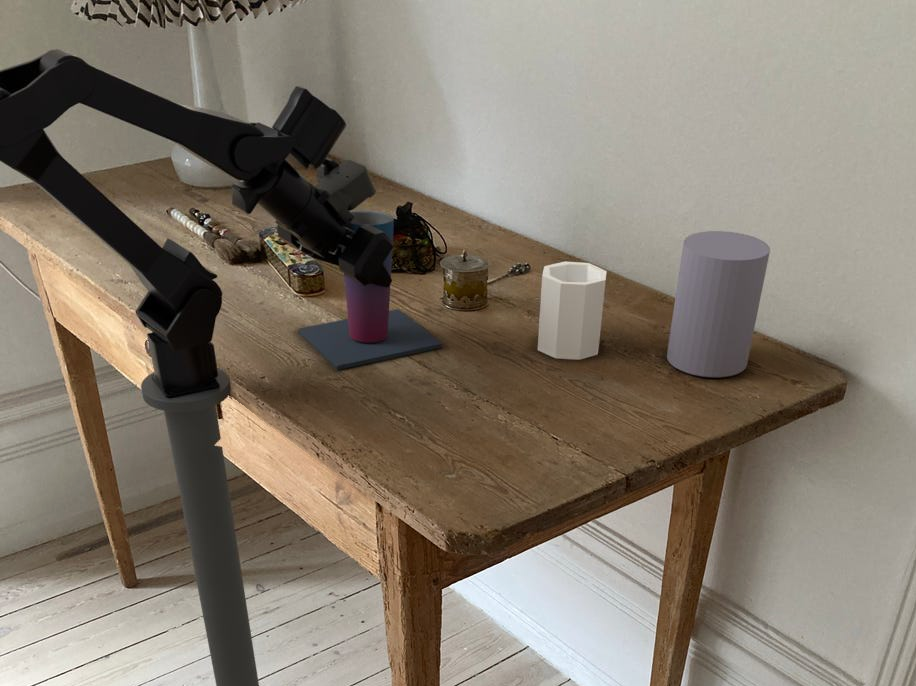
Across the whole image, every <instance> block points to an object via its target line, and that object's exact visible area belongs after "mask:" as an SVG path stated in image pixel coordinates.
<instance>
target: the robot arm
mask: <svg viewBox="0 0 916 686" xmlns="http://www.w3.org/2000/svg"><path fill="white" fill-rule="evenodd" d="M79 104H81V105H83V106H86V107H89V108H90V109H93V110H96V111H99V112H100V113H102V114H105V115H108V116H110V117H112V118H115V119H118V120H119V121H123V122H125V123H127V124H129V125H132V126H135V127H137V128H139V129H142V130H144V131H147V132H149V133H152V134H154V135H156V136H159V137H162V138H164V139H166V140H169V141H171V142H173V143H175V144H176V145H177V146H179V147H181V148H182V149H183V150H185V151H186V152H187V153H190V154H191V155H192V156H194V157H195V158H198V160H200V161H202V162H203V163H205V164H206V165H208V166H210V167H212V168H214V169H216V170H218V171H220V172H222V173H224V174H226V175H227V176H229V177H231V178H234V179H235V180H237V181H239V182H236V183H235V182H234V183H231V185H230V187H231V190H232V191H231V192H232V195H231V204H232V206H233V207H234V208H236V209H238V210H240V211H242V212H244V213H245V214H247V215H250V214H252V212H253V211H254V209H256V207H257V205H259V207H261V208H262V209H263V210H264V211H266V213H268V214H269V215H270V216H271V217H272V218H273V219H275V223H276V228H277V237H279V238H280V239H281V240H282V241H283V242H285V243H286V244H287V245H288V246H290V247H292V248H294V249H296V250H300V252H301V253H302V254H305V255H307V256H308V257H310V258H313V259H315V260H318V261H321V262H325V263H328V264H331V265H334V266H337V267H338V270H340V271H341V272H342V273H343V276H344V275H345V276H347V277H349V278H350V279H352V280H354V281H356V282H358V283H360V284H362V285H364V286H366V285H368V284H374V285H378V286H383V287H389V286H390V287H391V285H392V283H393V279H392V276H391V277H390V275H389V273H388V271H387V269H386V267H385V265H384V264H383V263H384V261H385V259H386V258H387V256H388V255H389V253H390V252H391V250H392V251H393V249H394V248H395V247H394V246H395V241H394V239H393V240H392V239H391V238H390V237H389V236H388V235H387V234H386V233H385V232H383V231H381V230H379V229H377V228H374V227H372V226H370V225H364V226H359V228H358V229H357V231H356V232H355V231H353V230H351V229H349V228H347V227H345V226H346V225H350V223H351V222H352V220H353V219H354V217H355V216H354V215H353V214H352V213H351V212H349V211H354V210H356V208H357V207H359V205H361V204H362V203H363V202H365V201H366V200H367V199H371V198H372V197H373V196H375V194H376V192H377V189H376V188H375V185H374V183H373V180H372V178H371V176H370V174H369V171H368V169H367V167H366V166H365V165H363V164H361V163H358V162H356V161H353V160H352V159H348V160H345V159H342V158H341V159H339V161H338V162H339V163H338V162H337V161H336V160H334V159H333V158H331V157H328V155H329V154H330V152H331V151H332V149H333V147H334V146H335V145H336V143H337V141H338V140H339V138H340V137H341V136H342V134H343V132H344V131H345V129H346V127H347V123H346V121H345V120H344V118H343V117H342V116H341V115H340V114H339V112H338V111H337V110H335V109H334V108H331V107H330V106H328V105H327V104H326V103H324V102H323V101H322V100H320V99H319V98H318V97H316V96H314V95H313V94H312V93H311V91H309V90H308V89H307V88H305V87H302V86H300V85H296V86H295V87H294V88H293V90H292V92H291V93H290V95H289V98H288V100H287V102H286V104H285V106H284V107H283V108H282V110H281V112H280V113H279V115H278V116H277V118H276V119H275V121H274V123H273V124H272V126H269V125H266V124H263V123H261V122H248V121H244V120H242V119H240V118H239V117H235V116H233V115H231V114H229V113H226V112H222V111H218V110H212V109H209V108H204V107H199V106H194V105H193V106H192V105H187V104H182V103H178V102H175V101H173V100H170V99H168V98H166V97H164V96H161V95H159V94H157V93H154V92H152V91H150V90H148V89H145V88H143V87H141V86H138V85H136V84H134V83H131V82H129V81H127V80H125V79H123V78H121V77H118V76H116V75H114V74H111V73H109V72H107V71H104V70H102V69H100V68H98V67H96V66H93V65H90V64H89V63H87V62H86V61H85V60H84V59H83V58H81V57H79V56H77V55H75V54H73V53H70V52H68V51H66V50H62V49H58V48H56V49H50V50H48V51H47V52H44V53H43V54H41V55H39V56H37V57H36V58H33V59H31V60H29V61H25V62H22V63H19V64H17V65H16V64H15V65H12V66H10V67H6V68H2V69H0V163H3V164H4V165H6V166H8V167H9V168H11V169H13V170H14V171H16V172H17V173H19V174H21V175H22V176H24V177H26V178H27V179H29V180H31V181H32V182H33V183H34V184H35V185H36V186H38V188H40V189H41V190H42V191H43V192H45V193H46V194H47V195H48V196H49V197H50V198H51V199H53V200H54V201H55V202H56V203H57V204H58V205H60V206H61V207H62V208H63V209H64V210H65V211H67V212H68V213H69V214H70V215H71V216H72V217H74V218H75V219H76V220H77V221H78V222H79V223H80V224H81V225H83V226H84V227H85V228H86V229H87V230H89V232H91V233H92V234H93V235H94V236H96V237H97V239H99V240H100V241H101V242H102V243H103V244H104V245H106V246H107V247H108V248H109V249H111V250H112V251H113V253H115V254H116V255H117V256H119V257H120V258H121V259H122V260H123V261H124V262H125V263H127V264H128V265H129V266H130V267H131V269H132V270H133V272H134V273H135V275H136V276H137V278H138V280H139V281H140V283H141V284H142V285H143V287H144V288H145V289H146V290H147V293H146V294H145V296H144V297H143V299H142V300H141V302H140V304H139V305H138V306H137V308H136V309H135V315H136V317H137V318H138V320H139V321H140V324H142V326H143V327H144V328H147V330H149V332H147V334H146V337H147V343H148V347H149V352H150V357H151V362H152V369H153V372H154V373H153V372H152V373H153V374H152V375H151V376H152V379H153V381H154V382H155V384H156V385H157V386H158V388H159V389H160V390H161V392H162V393H163V395H164V396H165V397H166V398H174V397H179V396H183V395H188V394H193V393H198V392H202V391H207V390H212V389H217V388H219V387H220V386H219V382H218V381H217V380H216V379H215V377H217V376H218V370H217V368H218V363H217V357H216V351H215V344H213V342H212V340H213V335H214V330H215V325H216V320H217V317H218V315H219V314H220V312H221V309H222V305H223V291H222V288H221V287H220V285H218V283H217V282H216V281H215V279H218V274H216V273H215V272H213V271H211V270H210V269H208V268H207V267H205V266H204V265H202V263H201V262H200V260H199V259H198V258H197V256H196V255H195V254H194V253H193V252H192V251H190V250H189V249H187V248H185V246H183V245H181V244H179V243H177V242H176V241H175V240H173V239H172V238H170V237H167V238H166V240H165V242H164V243H163V245H162V246H161V245H159V244H158V243H157V242H156V241H155V240H154V239H153V238H152V237H150V235H149V234H147V232H145V231H144V230H143V229H142V228H141V227H140V226H138V225H137V224H136V223H135V221H134V220H133V219H131V218H130V217H129V216H128V215H127V214H125V212H123V211H122V210H121V209H120V208H119V207H118V206H117V205H115V203H113V202H112V201H111V200H110V199H109V198H108V197H107V196H106V195H105V194H103V192H101V190H99V189H98V188H97V187H96V186H95V185H94V184H92V182H91V181H89V180H88V179H87V178H86V177H85V176H84V175H83V174H82V173H81V172H80V171H79V170H77V169H76V168H75V167H74V165H72V164H71V163H69V162H68V161H67V160H66V159H65V158H64V157H63V156H62V154H61V153H60V152H59V151H58V150H57V148H56V146H55V145H54V143H53V141H52V140H51V138H50V137H49V135H48V134H47V132H46V131H45V129H47V128H48V127H50V126H51V125H52V124H53V123H55V122H56V121H57V120H58V119H59V118H60V117H62V116H63V115H64V114H65V113H66V112H67V111H68V110H69V109H70V108H72V107H74V106H76V105H79ZM286 159H288V160H289V161H290V162H291V163H293V164H295V165H296V166H297V167H298V168H300V169H302V170H304V171H307V170H308V169H309V168H310V166H311V167H312V168H313V169H314V170H316V181H317V182H318V183H316V185H314V184H313V183H311V182H309V181H308V180H307V179H306V178H305V177H304V176H303V175H302V174H301V173H300V172H299V171H298V170H297V169H296V168H295V167H293V165H292V164H290V163H289V162H288V161H287V160H286ZM344 236H345V237H344ZM346 237H347V238H346ZM342 248H343V249H344V251H343V252H342Z"/></svg>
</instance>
